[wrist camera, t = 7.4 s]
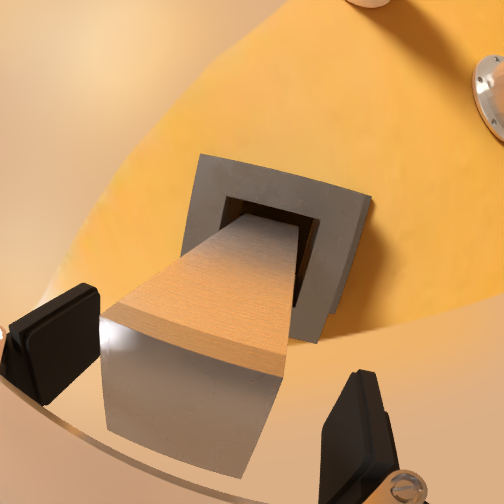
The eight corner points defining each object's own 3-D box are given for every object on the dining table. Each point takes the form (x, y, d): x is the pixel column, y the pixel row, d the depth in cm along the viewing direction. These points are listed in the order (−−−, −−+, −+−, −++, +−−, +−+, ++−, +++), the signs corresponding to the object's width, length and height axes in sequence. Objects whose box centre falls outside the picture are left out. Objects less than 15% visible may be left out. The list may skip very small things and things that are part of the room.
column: (298, 226, 28) (283, 377, 7) (283, 284, 30) (236, 488, 8) (246, 213, 28) (99, 315, 7) (233, 270, 30) (109, 441, 9)
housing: (369, 195, 32) (395, 204, 22) (333, 310, 36) (341, 355, 26) (206, 154, 34) (169, 148, 24) (184, 269, 37) (146, 299, 28)
